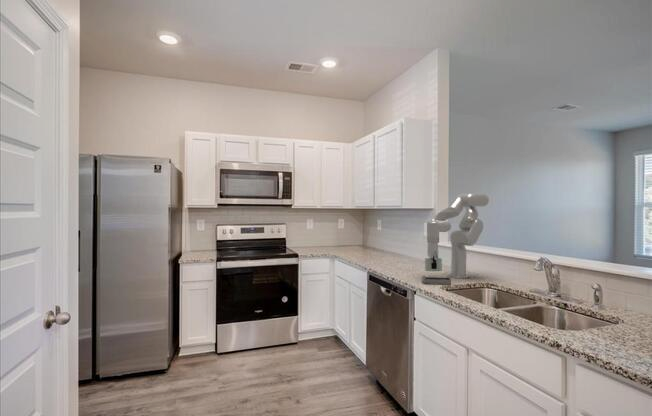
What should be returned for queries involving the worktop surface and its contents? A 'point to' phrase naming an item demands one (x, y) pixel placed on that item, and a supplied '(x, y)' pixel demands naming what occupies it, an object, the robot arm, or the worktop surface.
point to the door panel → (429, 266)
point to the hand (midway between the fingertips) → (433, 267)
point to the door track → (436, 280)
